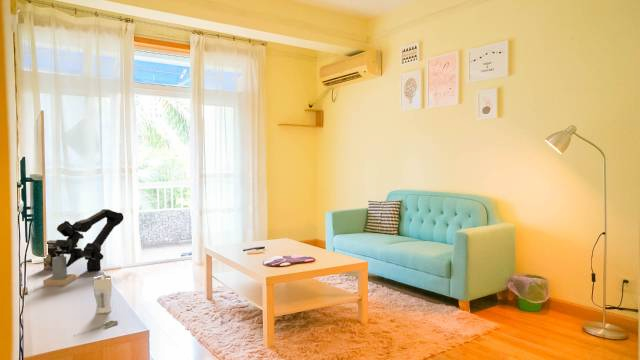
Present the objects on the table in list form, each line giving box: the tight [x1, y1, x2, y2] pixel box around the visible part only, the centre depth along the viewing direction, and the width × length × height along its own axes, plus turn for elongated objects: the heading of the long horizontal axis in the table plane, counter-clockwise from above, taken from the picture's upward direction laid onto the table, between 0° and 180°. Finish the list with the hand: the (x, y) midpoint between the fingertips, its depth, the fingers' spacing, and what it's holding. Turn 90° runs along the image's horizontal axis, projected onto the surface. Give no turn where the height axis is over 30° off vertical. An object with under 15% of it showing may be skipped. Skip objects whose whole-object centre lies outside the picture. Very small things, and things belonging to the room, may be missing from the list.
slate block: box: [52, 255, 68, 280], centre depth 228 cm, size 5×4×13 cm
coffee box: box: [42, 239, 65, 271], centre depth 256 cm, size 9×6×16 cm
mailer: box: [42, 273, 81, 287], centre depth 231 cm, size 11×17×3 cm, turn 4°
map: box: [73, 320, 118, 337], centre depth 167 cm, size 5×20×1 cm, turn 149°
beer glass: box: [93, 275, 113, 315], centre depth 187 cm, size 7×7×15 cm
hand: (58, 266), depth 227 cm, fingers open, 9 cm apart
